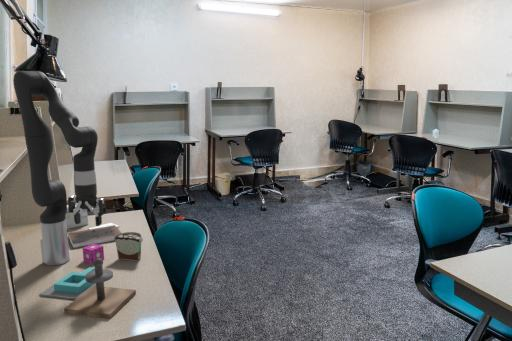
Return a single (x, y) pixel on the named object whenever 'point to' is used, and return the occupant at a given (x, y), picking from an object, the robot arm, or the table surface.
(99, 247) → the puzzle toy
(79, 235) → the picture frame
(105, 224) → the external hard drive
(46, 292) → the mat
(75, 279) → the teal square racket
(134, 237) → the food container
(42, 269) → the table surface
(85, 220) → the light bulb box
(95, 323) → the table surface
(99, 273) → the stand
